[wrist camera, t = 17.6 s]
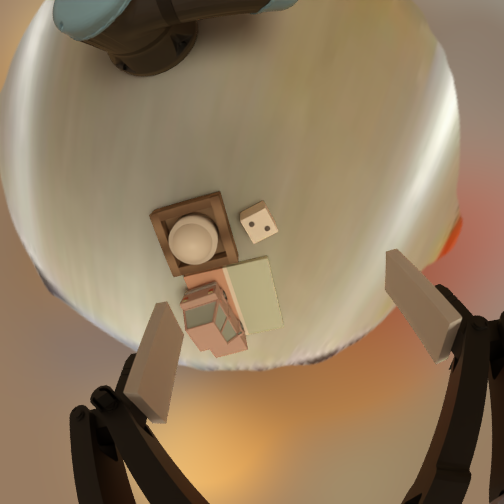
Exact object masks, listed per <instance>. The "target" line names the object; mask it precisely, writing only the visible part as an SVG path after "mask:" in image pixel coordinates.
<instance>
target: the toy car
mask: <svg viewBox="0 0 504 504" xmlns="http://www.w3.org/2000/svg"><path fill="white" fill-rule="evenodd" d="M228 302H229V301H228V300H227V296H226V293H225V291H224V290H222V289H220V288H219V286H218V284H217V282H212V283H209V284H206V285H204V286H201V287H198V288H195V289H192V290H189V291H186V292H185V294H184V297H183V299H182V301H181V303H180V306H181V308H182V309H183V314H184V322H185V331H186V332H187V333H188V335H189V336H190V338H191V339H192V340H193V342H194V343H195V345H196V346H197V347H198V349H199V350H200V351H205V350H209V349H210V350H211V352H212V353H213V354H214V356H215V357H216V358H217V357H221V356H225V355H229V354H233V353H237V352H240V351H244V350H247V349H248V347H247V341H246V336H245V330H244V328H243V325H242V323H241V322H240V321H238V320H237V319H236V317H235V315H234V313H233V312H232V310H231V308H230V306H229V304H228Z"/></svg>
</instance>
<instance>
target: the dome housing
mask: <svg viewBox="0 0 504 504" xmlns="http://www.w3.org/2000/svg"><path fill="white" fill-rule="evenodd" d="M193 212H197V213H202V214H205V215H207V216H208V217H210V218H211V219H212V220H213V221H214V222H215V224H216V226H217V228H218V232H219V238H218V243H217V249H216V252H215V254H214V255H213V257H212V258H211V259H209V260H208V261H207V262H205V263H202V264H197V265H191V264H187V263H184V262H182V261H180V260H179V259H177V258H176V257H175V256H174V254H173V253H172V251H171V249H170V247H169V234H170V231H171V230H172V228H173V226H174V225H175V223H176V222H177V220H178V219H179V218H180V217H182V216H183V215H185V214H188V213H193ZM149 216H150V219H151V222H152V224H153V227H154V230H155V232H156V235H157V237H158V240H159V243H160V245H161V248H162V250H163V253H164V255H165V258H166V260H167V262H168V265H169V267H170V270H171V272H172V274H173V277H176V276H181V275H185V274H189V273H194V272H198V271H203V270H207V269H212V268H216V267H220V266H225V265H229V264H233V263H238V252H237V248H236V245H235V241H234V238H233V235H232V231H231V228H230V224H229V221H228V217H227V214H226V210H225V207H224V203H223V200H222V196H221V193H220V191H219V192H215V193H211V194H208V195H204V196H200V197H197V198H193V199H190V200H186V201H183V202H179V203H176V204H172V205H169V206H166V207H163V208H159V209H156V210H154V211H153V212H152V213H151V214H150V215H149Z"/></svg>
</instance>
